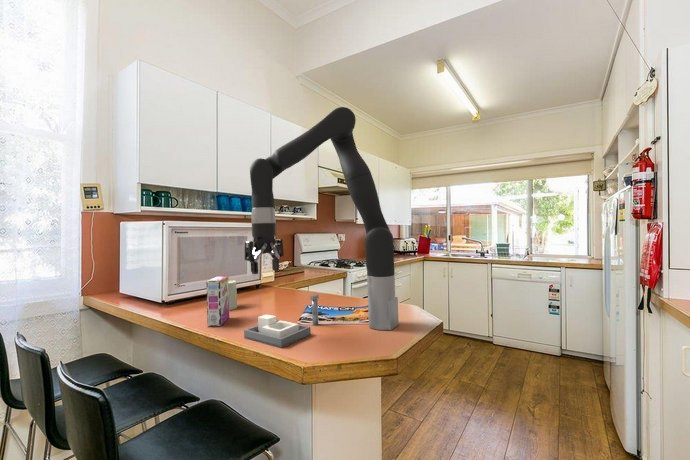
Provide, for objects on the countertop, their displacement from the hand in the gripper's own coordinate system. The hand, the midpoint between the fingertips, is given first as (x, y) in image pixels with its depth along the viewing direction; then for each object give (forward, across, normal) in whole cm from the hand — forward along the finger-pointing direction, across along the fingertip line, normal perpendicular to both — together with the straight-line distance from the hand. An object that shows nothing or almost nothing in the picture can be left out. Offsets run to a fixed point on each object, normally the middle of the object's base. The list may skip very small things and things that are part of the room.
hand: (265, 272), depth 102 cm
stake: (+20, +15, -8) cm, 26 cm away
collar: (+19, 0, -4) cm, 20 cm away
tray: (+20, 0, -5) cm, 21 cm away
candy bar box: (+20, 0, +26) cm, 33 cm away
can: (+20, +14, +42) cm, 49 cm away
